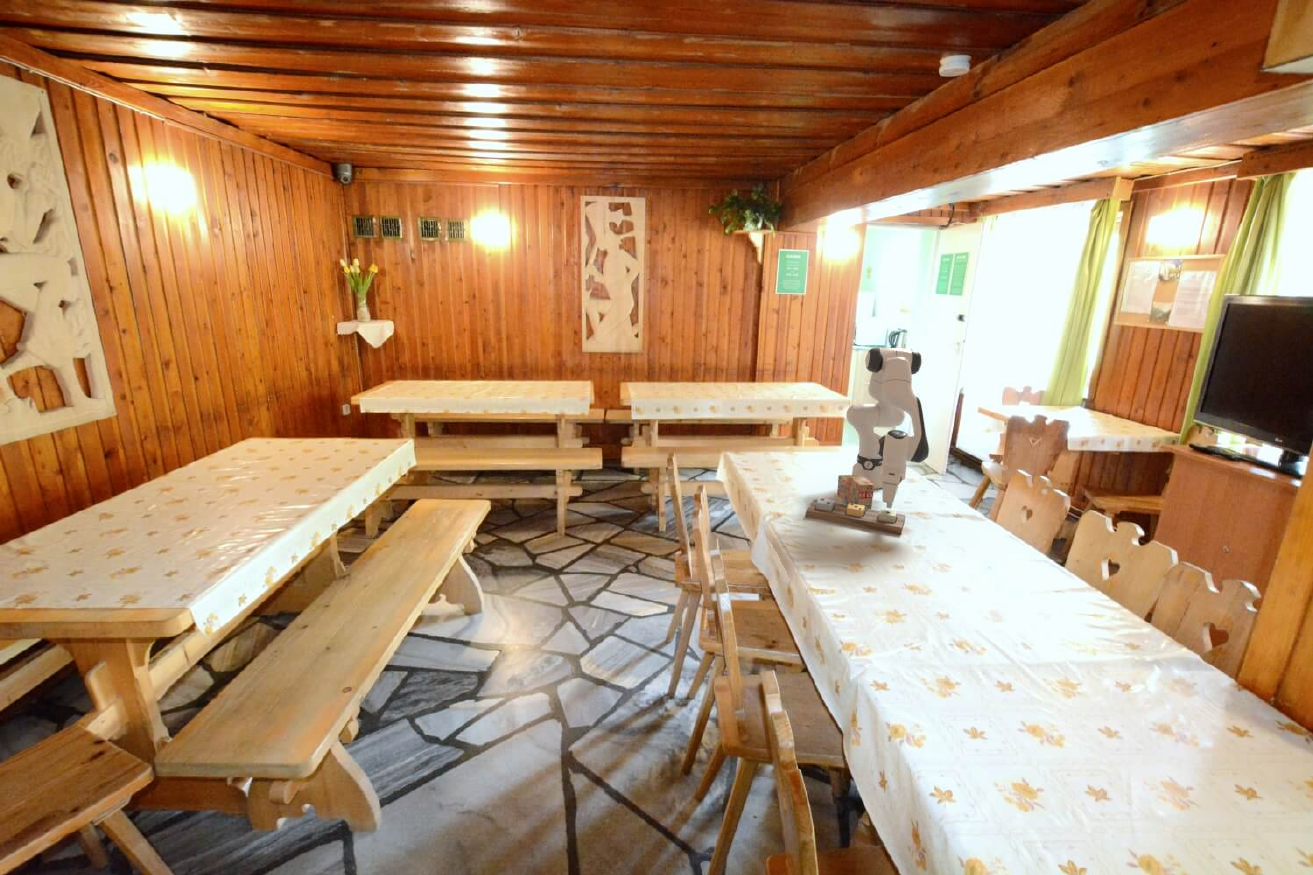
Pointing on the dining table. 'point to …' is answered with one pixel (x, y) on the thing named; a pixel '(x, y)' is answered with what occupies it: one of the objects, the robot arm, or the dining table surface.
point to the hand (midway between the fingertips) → (889, 507)
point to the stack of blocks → (855, 490)
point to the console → (856, 518)
